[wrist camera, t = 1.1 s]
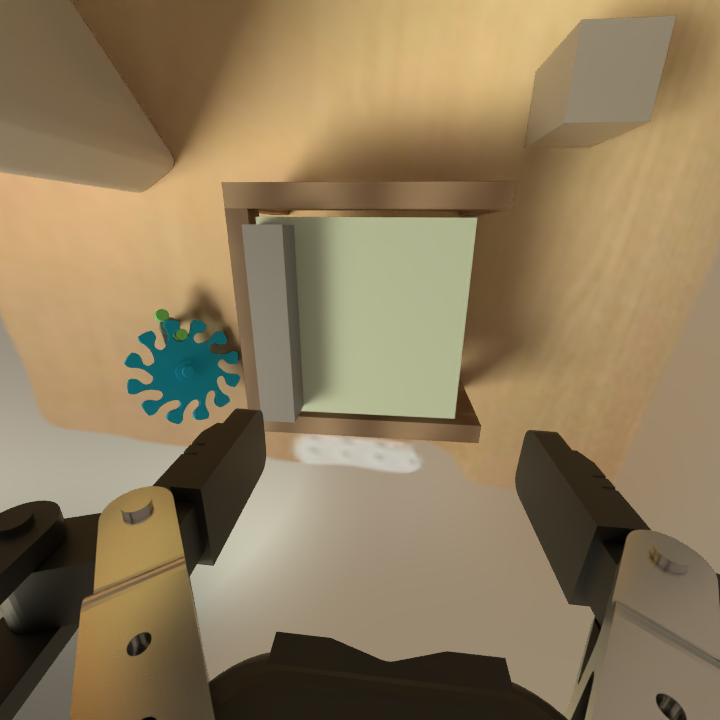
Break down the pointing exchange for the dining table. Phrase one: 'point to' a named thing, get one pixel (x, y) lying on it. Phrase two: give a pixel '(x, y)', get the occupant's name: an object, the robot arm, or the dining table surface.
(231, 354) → the teal piece
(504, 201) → the stand
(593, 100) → the small gray block
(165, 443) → the dining table surface
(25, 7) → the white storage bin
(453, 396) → the trapdoor
